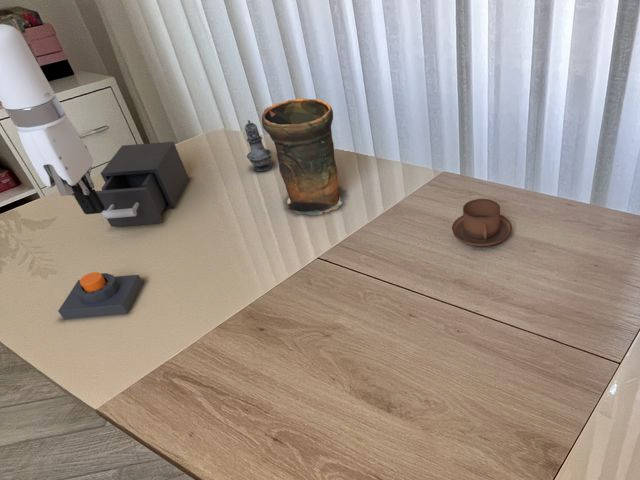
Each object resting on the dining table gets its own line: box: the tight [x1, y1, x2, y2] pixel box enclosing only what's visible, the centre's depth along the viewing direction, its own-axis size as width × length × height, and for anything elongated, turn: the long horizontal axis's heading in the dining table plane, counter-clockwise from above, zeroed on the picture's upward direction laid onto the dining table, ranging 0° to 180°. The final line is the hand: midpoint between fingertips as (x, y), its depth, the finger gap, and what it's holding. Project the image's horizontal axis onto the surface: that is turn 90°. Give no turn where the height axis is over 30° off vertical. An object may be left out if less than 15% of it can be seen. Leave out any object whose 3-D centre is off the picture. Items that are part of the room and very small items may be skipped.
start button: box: [79, 271, 106, 292], centre depth 97 cm, size 4×4×2 cm
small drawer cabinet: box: [100, 141, 190, 210], centre depth 125 cm, size 14×12×10 cm
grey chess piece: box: [244, 119, 275, 173], centre depth 132 cm, size 6×6×12 cm
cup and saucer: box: [451, 198, 512, 247], centre depth 110 cm, size 12×12×6 cm
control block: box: [57, 272, 144, 320], centre depth 99 cm, size 11×9×4 cm
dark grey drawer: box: [95, 173, 167, 228], centre depth 118 cm, size 17×10×8 cm, turn 6°
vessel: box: [261, 97, 343, 217], centre depth 117 cm, size 14×14×20 cm
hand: (95, 211), depth 103 cm, fingers closed
